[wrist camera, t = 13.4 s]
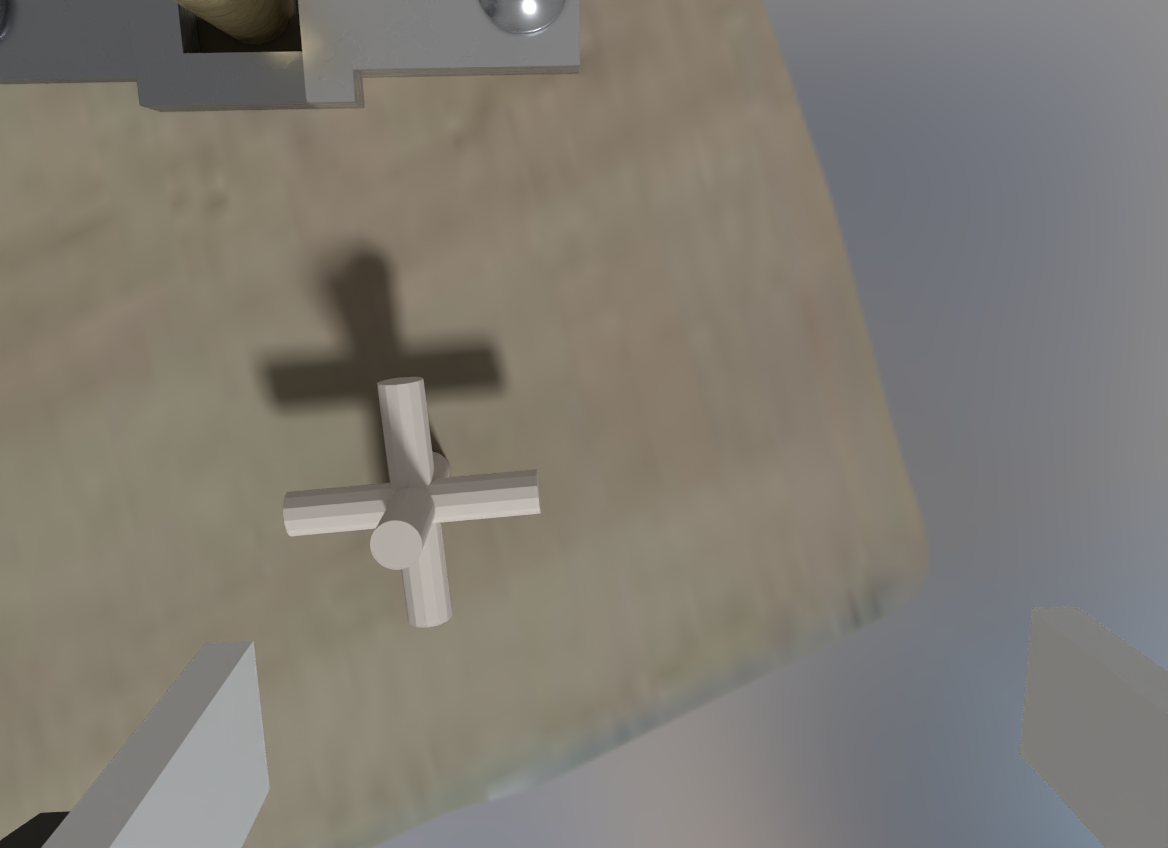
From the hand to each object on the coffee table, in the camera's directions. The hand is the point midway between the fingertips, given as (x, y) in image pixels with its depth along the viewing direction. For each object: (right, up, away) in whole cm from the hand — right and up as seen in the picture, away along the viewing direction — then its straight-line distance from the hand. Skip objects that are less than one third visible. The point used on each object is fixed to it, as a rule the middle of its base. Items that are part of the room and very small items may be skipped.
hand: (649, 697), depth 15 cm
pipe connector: (-8, +3, +27) cm, 28 cm away
